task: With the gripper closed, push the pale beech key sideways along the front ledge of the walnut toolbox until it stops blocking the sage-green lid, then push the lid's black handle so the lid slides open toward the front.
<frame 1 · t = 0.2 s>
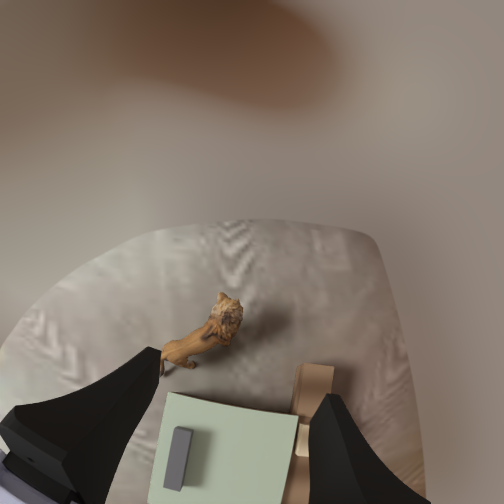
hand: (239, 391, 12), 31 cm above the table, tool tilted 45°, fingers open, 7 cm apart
toolbox: (236, 459, 35), on the table
lid: (221, 467, 29), point 7 cm above the table, slide at 0.0 cm
lion figurine: (201, 343, 43), on the table
wooden key: (310, 440, 32), point 6 cm above the table, slide at 0.0 cm
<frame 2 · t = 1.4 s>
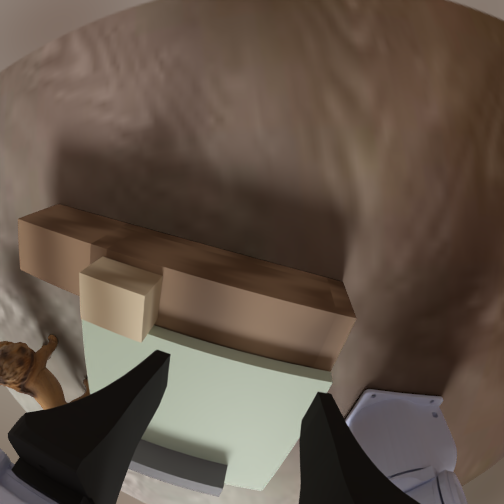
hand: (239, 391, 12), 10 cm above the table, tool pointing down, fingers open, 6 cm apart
toolbox: (206, 360, 25), on the table
lid: (182, 435, 19), point 7 cm above the table, slide at 0.0 cm
lion figurine: (64, 363, 28), on the table
wooden key: (120, 298, 16), point 6 cm above the table, slide at 0.0 cm
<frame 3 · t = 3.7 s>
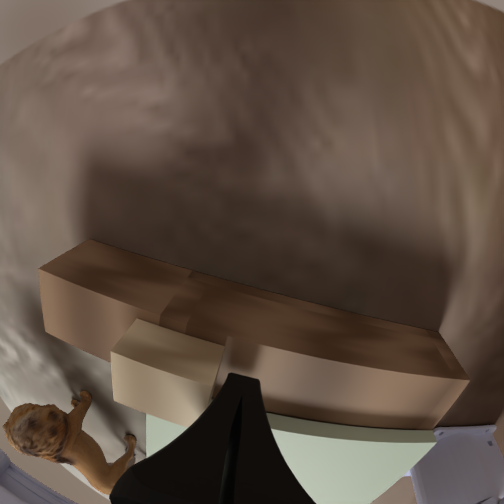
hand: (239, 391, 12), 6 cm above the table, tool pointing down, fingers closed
toolbox: (279, 417, 20), on the table
lion figurine: (99, 418, 24), on the table
wooden key: (167, 375, 12), point 6 cm above the table, slide at 2.0 cm, touching gripper
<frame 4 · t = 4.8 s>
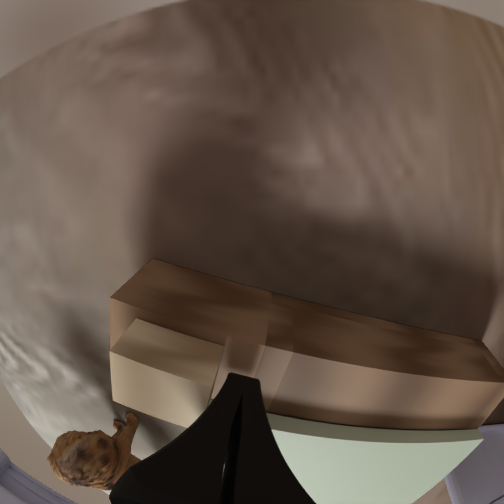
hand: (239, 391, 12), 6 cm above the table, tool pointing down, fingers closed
toolbox: (335, 426, 20), on the table
lion figurine: (143, 438, 24), on the table
wooden key: (166, 375, 12), point 6 cm above the table, slide at 6.6 cm, touching gripper
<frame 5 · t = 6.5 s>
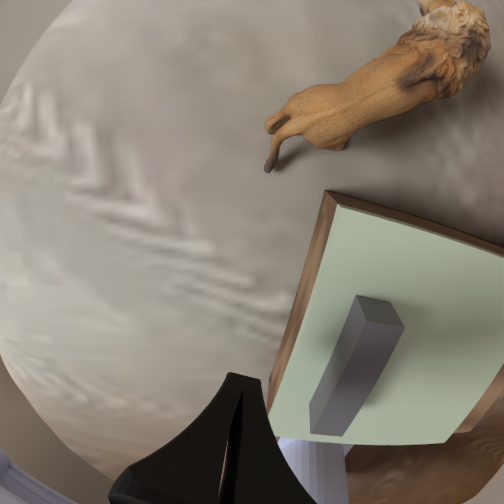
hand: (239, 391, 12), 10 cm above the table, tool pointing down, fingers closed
toolbox: (413, 322, 21), on the table
lid: (422, 376, 15), point 7 cm above the table, slide at 0.0 cm
lion figurine: (354, 94, 17), on the table
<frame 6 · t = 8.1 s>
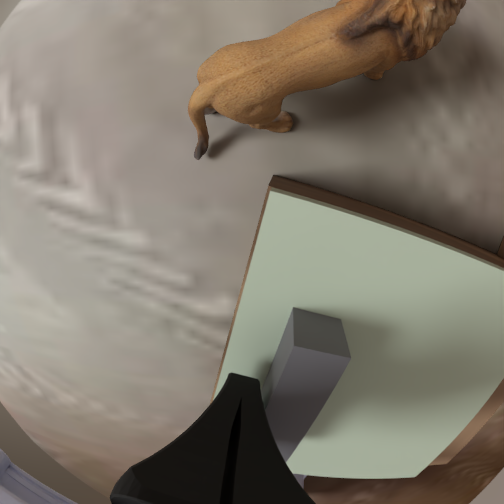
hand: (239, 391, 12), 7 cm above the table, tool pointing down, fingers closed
toolbox: (384, 339, 19), on the table
lid: (384, 411, 12), point 7 cm above the table, slide at 0.1 cm, touching gripper
lion figurine: (307, 66, 14), on the table
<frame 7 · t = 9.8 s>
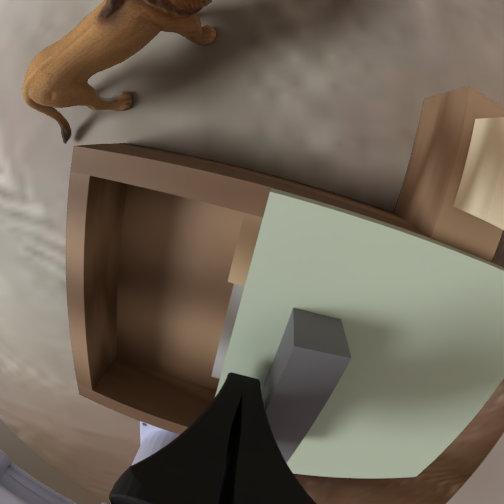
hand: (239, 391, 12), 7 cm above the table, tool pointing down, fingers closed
toolbox: (255, 309, 19), on the table
lid: (384, 411, 12), point 7 cm above the table, slide at 9.0 cm, touching gripper
lion figurine: (149, 48, 14), on the table
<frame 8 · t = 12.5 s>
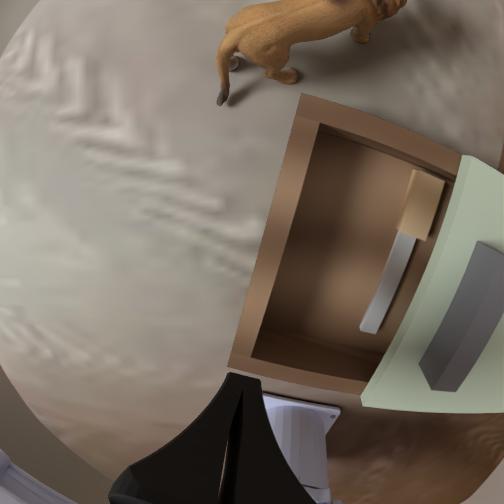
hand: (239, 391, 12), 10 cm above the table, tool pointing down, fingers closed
toolbox: (400, 264, 20), on the table
lion figurine: (307, 34, 16), on the table
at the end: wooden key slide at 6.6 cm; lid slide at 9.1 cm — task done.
